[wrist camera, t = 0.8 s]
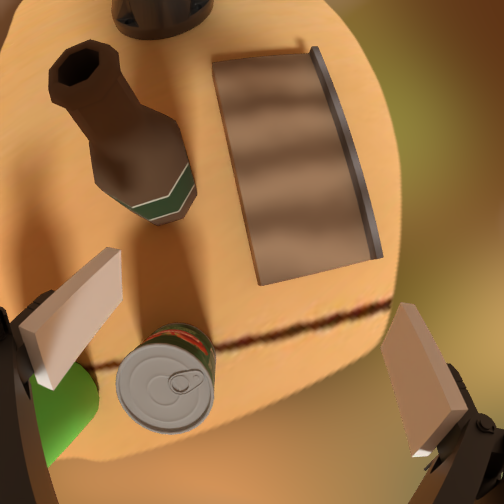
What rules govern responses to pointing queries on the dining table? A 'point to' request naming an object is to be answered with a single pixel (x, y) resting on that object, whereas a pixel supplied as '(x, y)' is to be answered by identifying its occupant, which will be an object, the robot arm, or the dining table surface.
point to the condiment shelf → (294, 166)
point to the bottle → (64, 409)
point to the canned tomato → (169, 380)
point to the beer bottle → (124, 135)
